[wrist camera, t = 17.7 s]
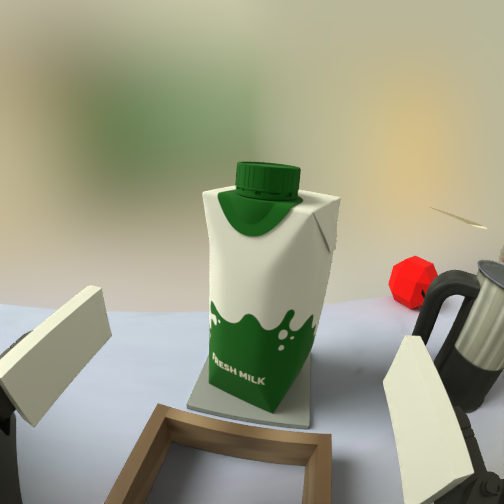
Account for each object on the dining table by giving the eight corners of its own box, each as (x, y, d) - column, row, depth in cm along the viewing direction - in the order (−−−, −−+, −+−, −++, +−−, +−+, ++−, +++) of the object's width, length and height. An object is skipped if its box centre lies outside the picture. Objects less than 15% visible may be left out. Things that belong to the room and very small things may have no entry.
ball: (415, 318, 38) (430, 275, 35) (379, 297, 44) (390, 256, 41) (433, 304, 42) (446, 266, 39) (400, 286, 48) (410, 250, 45)
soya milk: (195, 384, 24) (190, 160, 17) (243, 338, 32) (257, 158, 24) (277, 425, 20) (327, 175, 13) (313, 365, 28) (353, 172, 21)
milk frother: (473, 364, 26) (518, 266, 21) (503, 453, 12) (589, 338, 7) (387, 357, 30) (427, 244, 24) (396, 466, 16) (495, 333, 10)
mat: (186, 408, 22) (186, 404, 22) (217, 338, 32) (217, 335, 32) (307, 429, 21) (309, 425, 20) (309, 352, 31) (310, 349, 31)
